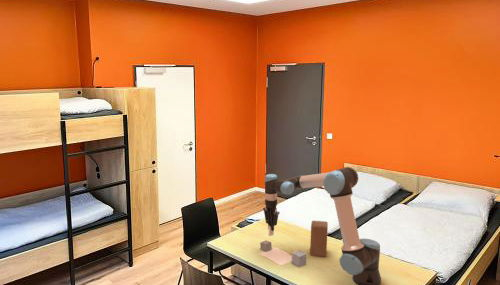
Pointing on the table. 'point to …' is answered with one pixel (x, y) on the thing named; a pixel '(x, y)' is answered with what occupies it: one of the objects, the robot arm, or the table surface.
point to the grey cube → (265, 246)
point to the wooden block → (318, 238)
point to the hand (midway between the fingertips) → (271, 235)
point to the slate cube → (299, 258)
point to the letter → (277, 256)
